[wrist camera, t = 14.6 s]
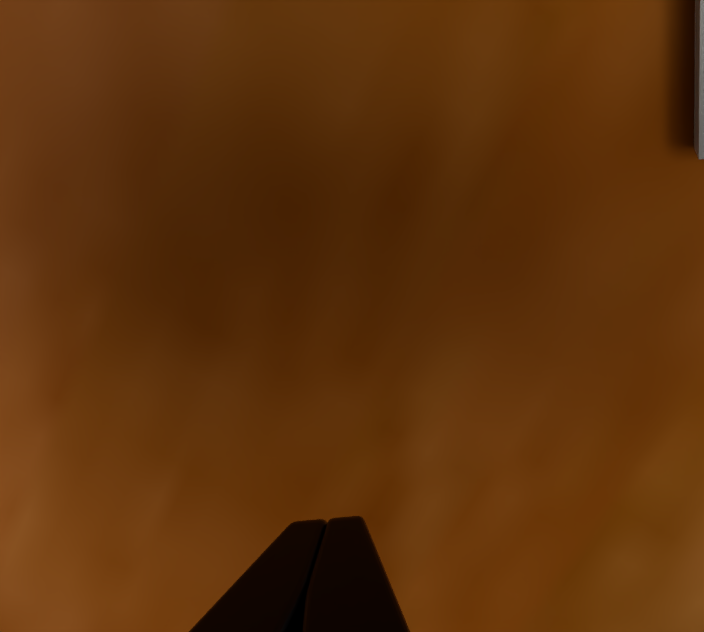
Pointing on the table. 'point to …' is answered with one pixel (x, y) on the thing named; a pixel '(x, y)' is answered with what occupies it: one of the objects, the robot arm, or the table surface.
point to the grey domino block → (699, 80)
